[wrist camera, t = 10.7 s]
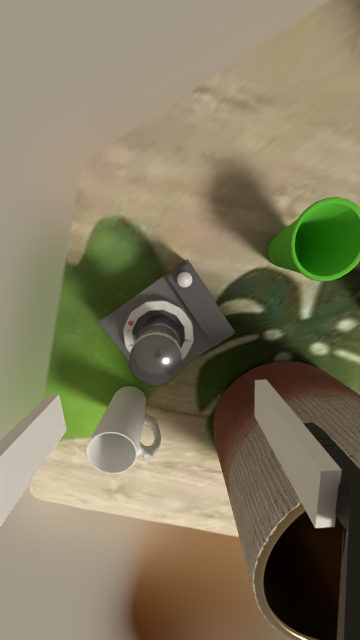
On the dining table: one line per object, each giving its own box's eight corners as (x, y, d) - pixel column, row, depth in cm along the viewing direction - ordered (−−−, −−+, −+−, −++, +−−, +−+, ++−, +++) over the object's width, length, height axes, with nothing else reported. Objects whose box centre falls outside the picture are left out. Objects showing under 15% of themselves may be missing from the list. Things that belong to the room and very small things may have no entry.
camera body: (185, 260, 35) (188, 257, 28) (227, 324, 37) (239, 336, 30) (108, 315, 36) (92, 326, 29) (152, 372, 39) (148, 395, 32)
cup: (244, 261, 35) (275, 256, 24) (276, 209, 33) (324, 179, 23) (288, 288, 36) (336, 295, 25) (320, 239, 35) (386, 224, 24)
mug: (106, 408, 40) (79, 465, 29) (119, 379, 39) (95, 424, 27) (156, 426, 41) (148, 487, 30) (169, 398, 40) (167, 449, 28)
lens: (140, 315, 31) (125, 337, 22) (178, 313, 31) (180, 333, 22) (143, 351, 33) (131, 387, 23) (180, 349, 33) (183, 383, 23)
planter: (329, 468, 45) (472, 650, 23) (209, 472, 44) (243, 662, 23) (349, 355, 39) (562, 457, 18) (212, 358, 39) (261, 466, 17)
